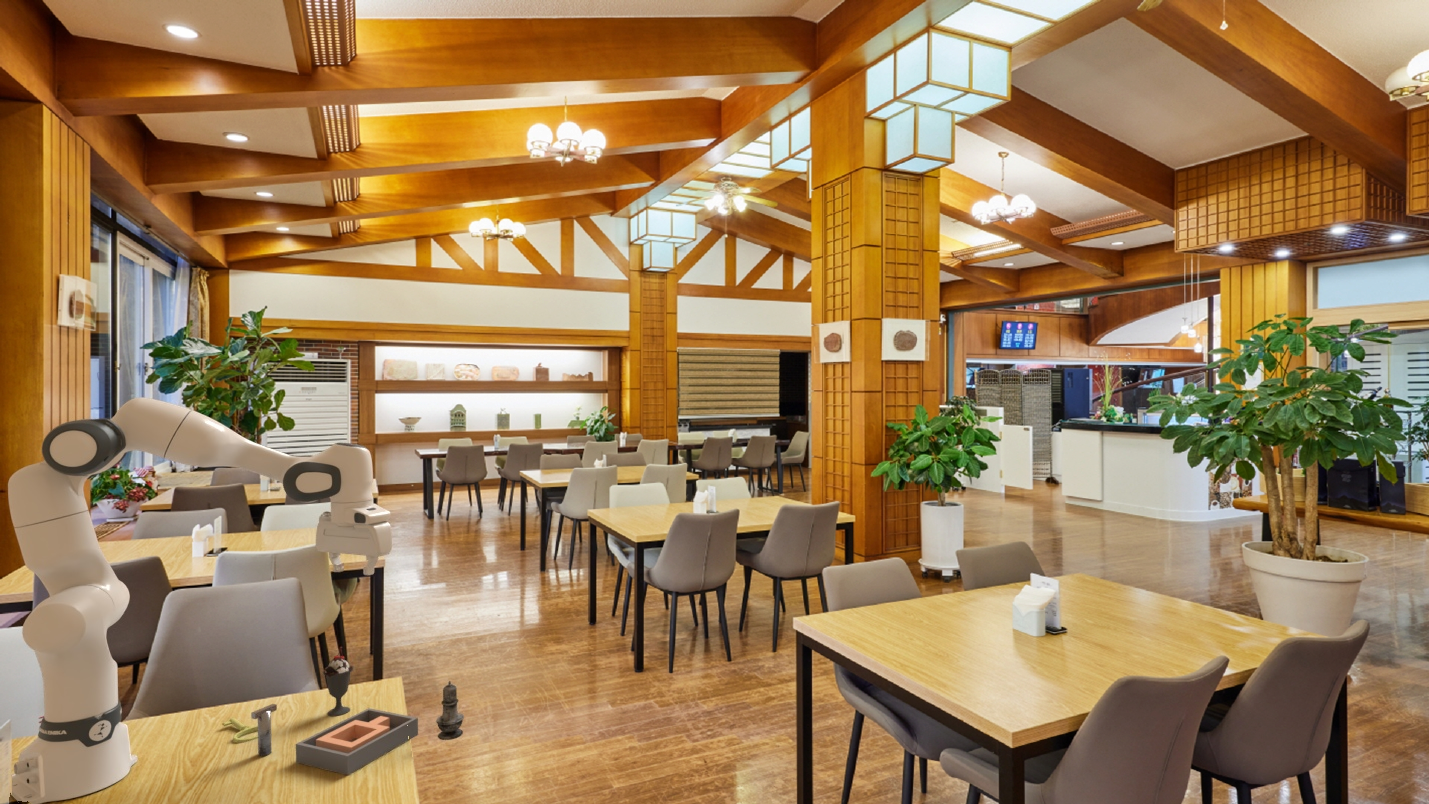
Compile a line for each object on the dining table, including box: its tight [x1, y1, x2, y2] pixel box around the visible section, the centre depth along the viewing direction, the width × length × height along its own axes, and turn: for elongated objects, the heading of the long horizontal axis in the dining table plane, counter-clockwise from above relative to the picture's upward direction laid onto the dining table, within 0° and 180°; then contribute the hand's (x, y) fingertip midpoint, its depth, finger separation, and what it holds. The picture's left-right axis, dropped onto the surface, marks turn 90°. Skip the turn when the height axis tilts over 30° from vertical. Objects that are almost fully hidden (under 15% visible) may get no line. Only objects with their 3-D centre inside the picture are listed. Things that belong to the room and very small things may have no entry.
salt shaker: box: [435, 680, 465, 741], centre depth 163 cm, size 6×6×12 cm
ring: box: [316, 716, 390, 754], centre depth 157 cm, size 14×10×3 cm
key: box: [221, 717, 258, 744], centre depth 165 cm, size 7×12×2 cm, turn 75°
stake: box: [250, 703, 278, 757], centre depth 155 cm, size 2×5×10 cm, turn 158°
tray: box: [295, 707, 419, 776], centre depth 157 cm, size 15×19×4 cm
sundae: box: [322, 646, 354, 717], centre depth 176 cm, size 7×7×15 cm
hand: (353, 573), depth 168 cm, fingers open, 8 cm apart
